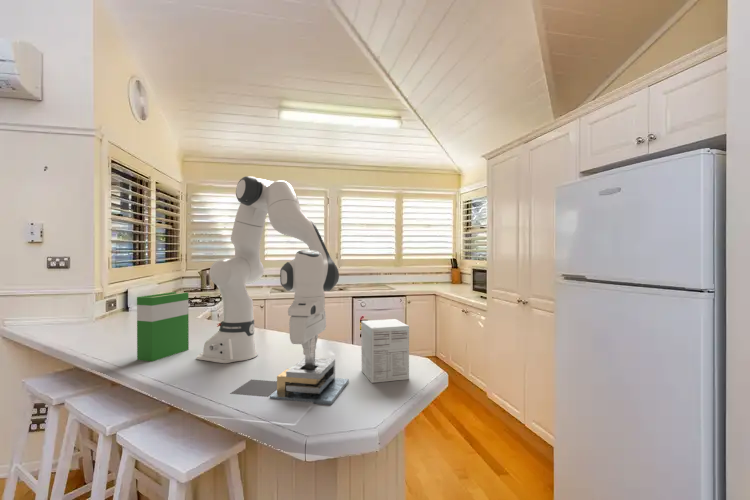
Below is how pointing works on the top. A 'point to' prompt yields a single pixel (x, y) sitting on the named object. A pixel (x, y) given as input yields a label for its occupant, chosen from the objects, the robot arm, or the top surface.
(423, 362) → the top surface
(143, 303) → the hardback book
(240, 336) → the robot arm
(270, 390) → the mat
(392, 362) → the supplement box
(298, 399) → the grey layered square block
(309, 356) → the pin
